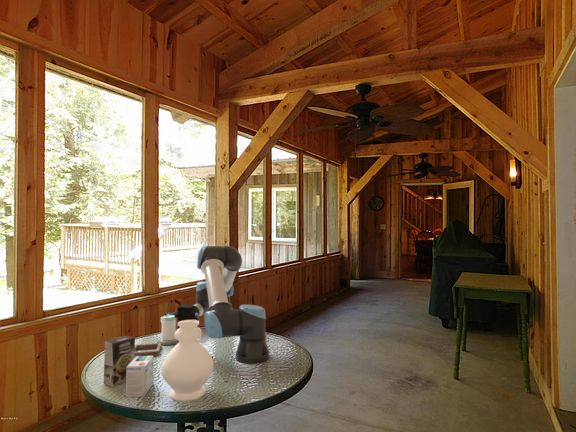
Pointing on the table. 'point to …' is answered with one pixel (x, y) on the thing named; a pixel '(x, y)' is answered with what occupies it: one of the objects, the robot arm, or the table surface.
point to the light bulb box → (139, 376)
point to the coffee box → (118, 359)
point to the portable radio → (185, 313)
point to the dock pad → (167, 342)
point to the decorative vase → (187, 364)
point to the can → (168, 328)
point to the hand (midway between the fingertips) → (172, 320)
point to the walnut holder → (148, 346)
